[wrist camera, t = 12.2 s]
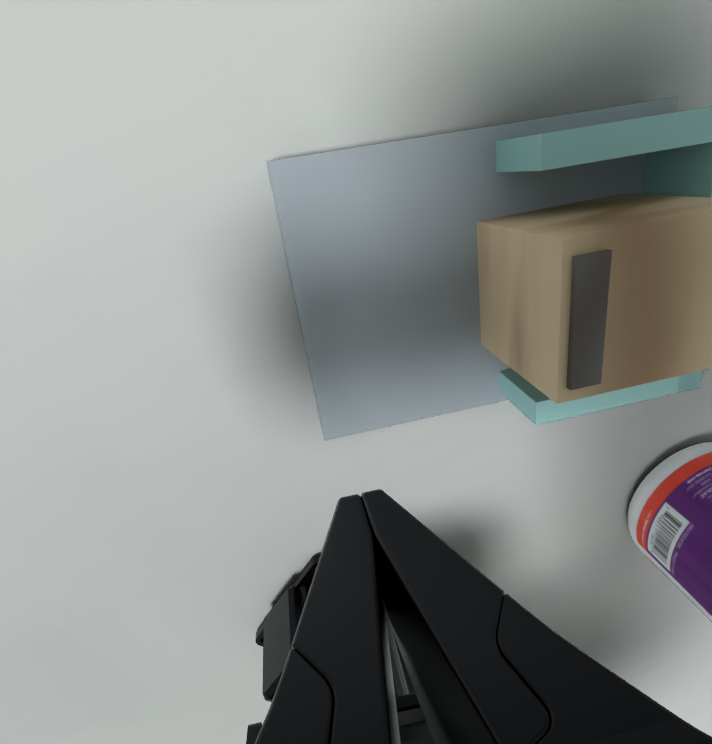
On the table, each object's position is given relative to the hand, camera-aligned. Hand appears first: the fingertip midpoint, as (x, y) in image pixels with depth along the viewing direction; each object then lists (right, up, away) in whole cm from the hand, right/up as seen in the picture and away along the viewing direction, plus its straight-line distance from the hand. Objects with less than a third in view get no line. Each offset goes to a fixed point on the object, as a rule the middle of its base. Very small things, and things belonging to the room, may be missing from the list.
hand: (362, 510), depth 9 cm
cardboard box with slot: (+8, +7, +9) cm, 14 cm away
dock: (+5, +7, +10) cm, 13 cm away
